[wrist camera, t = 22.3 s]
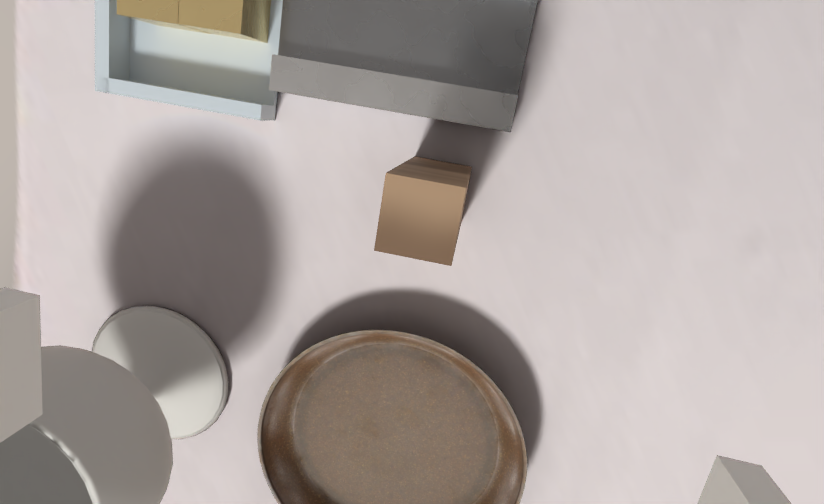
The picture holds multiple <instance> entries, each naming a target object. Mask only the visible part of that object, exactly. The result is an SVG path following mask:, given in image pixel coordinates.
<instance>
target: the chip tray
mask: <svg viewBox="0 0 824 504" xmlns="http://www.w3.org/2000/svg"><path fill="white" fill-rule="evenodd" d="M282 4H283V0H271V7H270V20H269V32H268V43H264V42H258V41H252V40H246V39H240V38H234V37H228V36H221V35H215V34H207V33H200V32H194V31H188V30H182V29H176V28H170V27H164V26H158V25H154V24H150V23H146V22H143V21H139V20H136V19H132V18H128V17H125V16H121V15H118V14H117V0H95V91H99V92H105V93H110V94H116V95H121V96H127V97H133V98H138V99H144V100H149V101H155V102H160V103H166V104H171V105H177V106H183V107H188V108H194V109H199V110H205V111H210V112H216V113H222V114H227V115H233V116H238V117H244V118H249V119H255V120H275V115H276V104H277V93H278V92H277V91H272V90H269V83H270V72H271V60H272V54H275V55H278V49H279V38H280V27H281V15H282Z"/></svg>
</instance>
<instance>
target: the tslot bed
mask: <svg viewBox="0 0 824 504" xmlns="http://www.w3.org/2000/svg"><path fill="white" fill-rule="evenodd" d="M537 2H538V0H283V4H282V15H281V27H280V38H279V49H278V55H275V54H272V60H271V72H270V83H269V90H272V91H277V92H283V93H289V94H295V95H300V96H306V97H312V98H318V99H323V100H329V101H335V102H341V103H346V104H352V105H358V106H364V107H369V108H375V109H381V110H387V111H392V112H398V113H404V114H410V115H415V116H421V117H427V118H433V119H438V120H444V121H450V122H456V123H461V124H467V125H473V126H479V127H484V128H490V129H496V130H501V131H507V132H511V128H512V123H513V118H514V114H515V109H516V104H517V99H518V91H519V86H520V81H521V77H522V72H523V67H524V63H525V58H526V53H527V48H528V44H529V39H530V34H531V30H532V25H533V20H534V15H535V11H536V6H537Z"/></svg>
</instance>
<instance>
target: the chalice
mask: <svg viewBox="0 0 824 504" xmlns="http://www.w3.org/2000/svg"><path fill="white" fill-rule="evenodd" d="M41 371H42V412H43V414H42V415H41V416H39V417H38V418H36V419H35V420H33V421H32V422H31V423H29V424H28V425H26V426H25V427H23V428H22V429H20V430H19V431H17V432H16V433H14V434H13V435H11V436H10V437H8V438H7V439H5V440H4V441H2V442H1V443H0V504H160V502H161V500H162V498H163V496H164V494H165V492H166V490H167V486H168V483H169V479H170V474H171V470H172V465H173V455H172V440H171V439H184V438H188V437H192V436H196V435H198V434H199V433H201V432H203V431H205V430H207V429H208V428H209V427H210V426H211V425H212V424H214V423H215V422H216V421H217V420H218V418H219V416H220V415H221V413H222V411H223V410H224V408H225V404H226V400H227V397H228V376H227V371H226V366H225V363H224V361H223V359H222V356H221V354H220V352H219V350H218V348H217V347H216V345H215V344H214V343H213V341H212V340H211V338H210V337H209V336H208V335H207V334H206V333H205V332H204V331H203V330H202V329H201V328H200V327H199V326H198V325H197V324H196V323H194V322H192V321H191V320H189V319H188V318H186V317H185V316H183V315H182V314H179V313H176V312H174V311H171V310H169V309H166V308H161V307H155V306H134V307H131V308H128V309H125V310H122V311H119V312H118V313H116V314H115V315H113V316H112V317H110V318H109V319H108V320H107V321H106V322H105V323H104V324H103V325H102V327H101V328H100V329H99V331H98V333H97V335H96V337H95V339H94V342H93V347H92V352H91V351H88V350H84V349H80V348H73V347H67V346H61V345H60V346H46V347H41Z"/></svg>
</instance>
